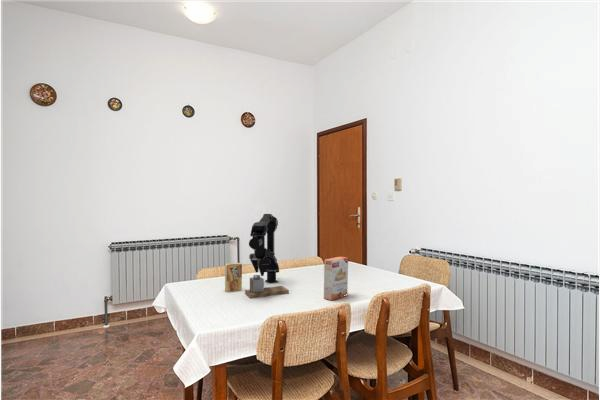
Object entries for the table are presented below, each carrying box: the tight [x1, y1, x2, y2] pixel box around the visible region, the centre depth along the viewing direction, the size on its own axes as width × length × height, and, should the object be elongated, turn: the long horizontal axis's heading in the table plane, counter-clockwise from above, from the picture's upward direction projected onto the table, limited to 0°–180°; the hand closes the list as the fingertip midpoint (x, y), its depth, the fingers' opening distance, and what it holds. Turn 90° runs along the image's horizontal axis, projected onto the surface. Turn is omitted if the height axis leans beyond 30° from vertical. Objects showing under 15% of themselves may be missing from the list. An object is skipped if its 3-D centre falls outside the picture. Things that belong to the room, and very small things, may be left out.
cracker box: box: [323, 256, 349, 301], centre depth 190 cm, size 14×6×21 cm, turn 137°
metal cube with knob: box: [249, 274, 265, 293], centre depth 194 cm, size 6×6×8 cm
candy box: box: [224, 262, 243, 293], centre depth 203 cm, size 9×4×15 cm, turn 116°
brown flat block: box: [244, 285, 290, 299], centre depth 197 cm, size 22×10×5 cm, turn 116°
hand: (259, 274), depth 197 cm, fingers open, 9 cm apart
